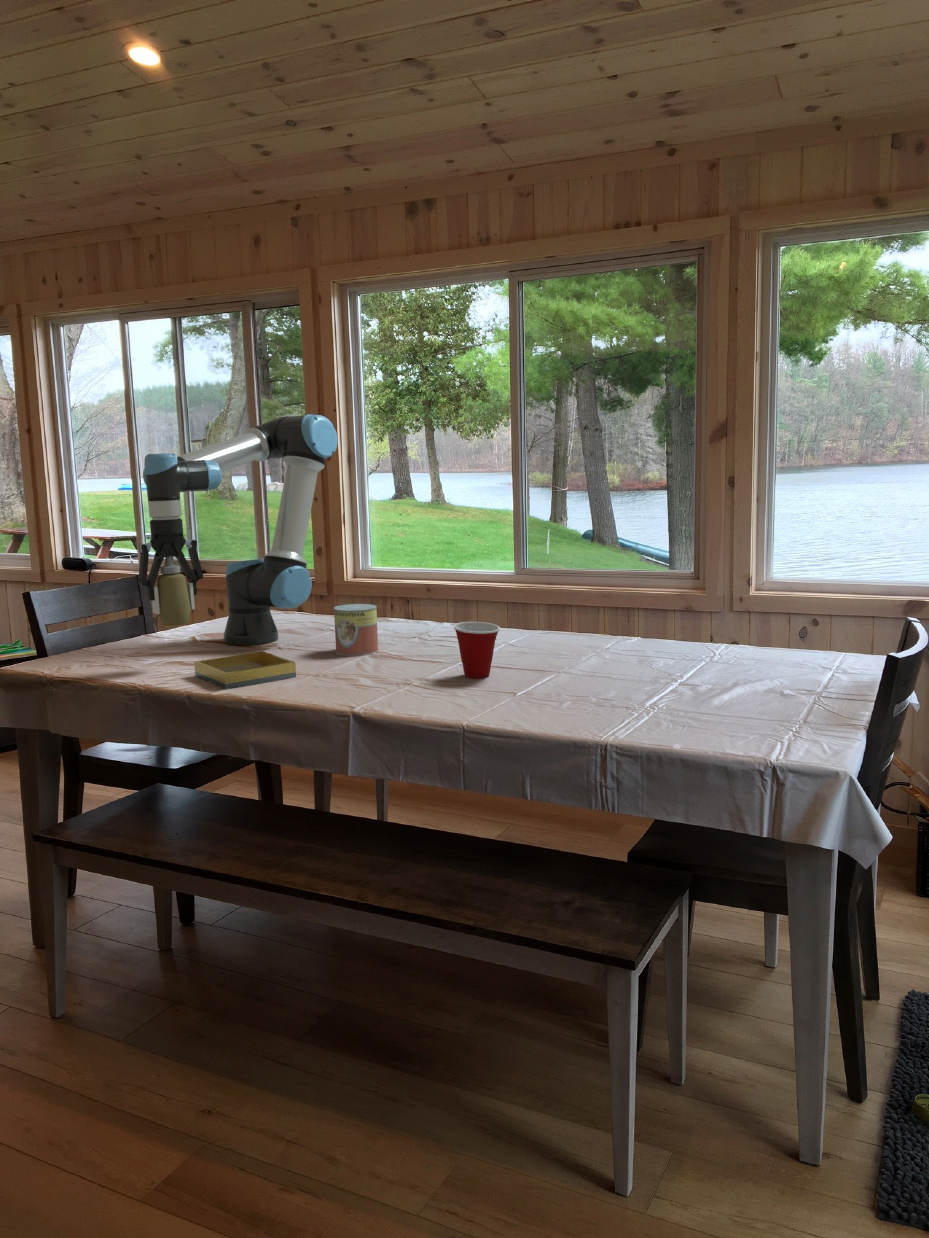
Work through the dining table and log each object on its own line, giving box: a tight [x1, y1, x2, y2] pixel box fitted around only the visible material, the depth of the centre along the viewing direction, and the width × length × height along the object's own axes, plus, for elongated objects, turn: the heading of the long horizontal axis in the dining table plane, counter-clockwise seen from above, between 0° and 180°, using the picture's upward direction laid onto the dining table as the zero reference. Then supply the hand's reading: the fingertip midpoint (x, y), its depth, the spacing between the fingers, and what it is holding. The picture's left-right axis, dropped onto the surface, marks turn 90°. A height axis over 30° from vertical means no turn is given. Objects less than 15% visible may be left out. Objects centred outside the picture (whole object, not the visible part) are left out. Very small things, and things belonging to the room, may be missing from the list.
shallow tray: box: [193, 650, 297, 690], centre depth 220 cm, size 18×18×4 cm
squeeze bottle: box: [156, 556, 192, 627], centre depth 227 cm, size 8×8×18 cm
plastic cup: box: [453, 621, 501, 679], centre depth 215 cm, size 11×11×12 cm
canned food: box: [333, 603, 379, 657], centre depth 246 cm, size 11×11×12 cm
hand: (174, 610), depth 228 cm, fingers closed on squeeze bottle, 8 cm apart
